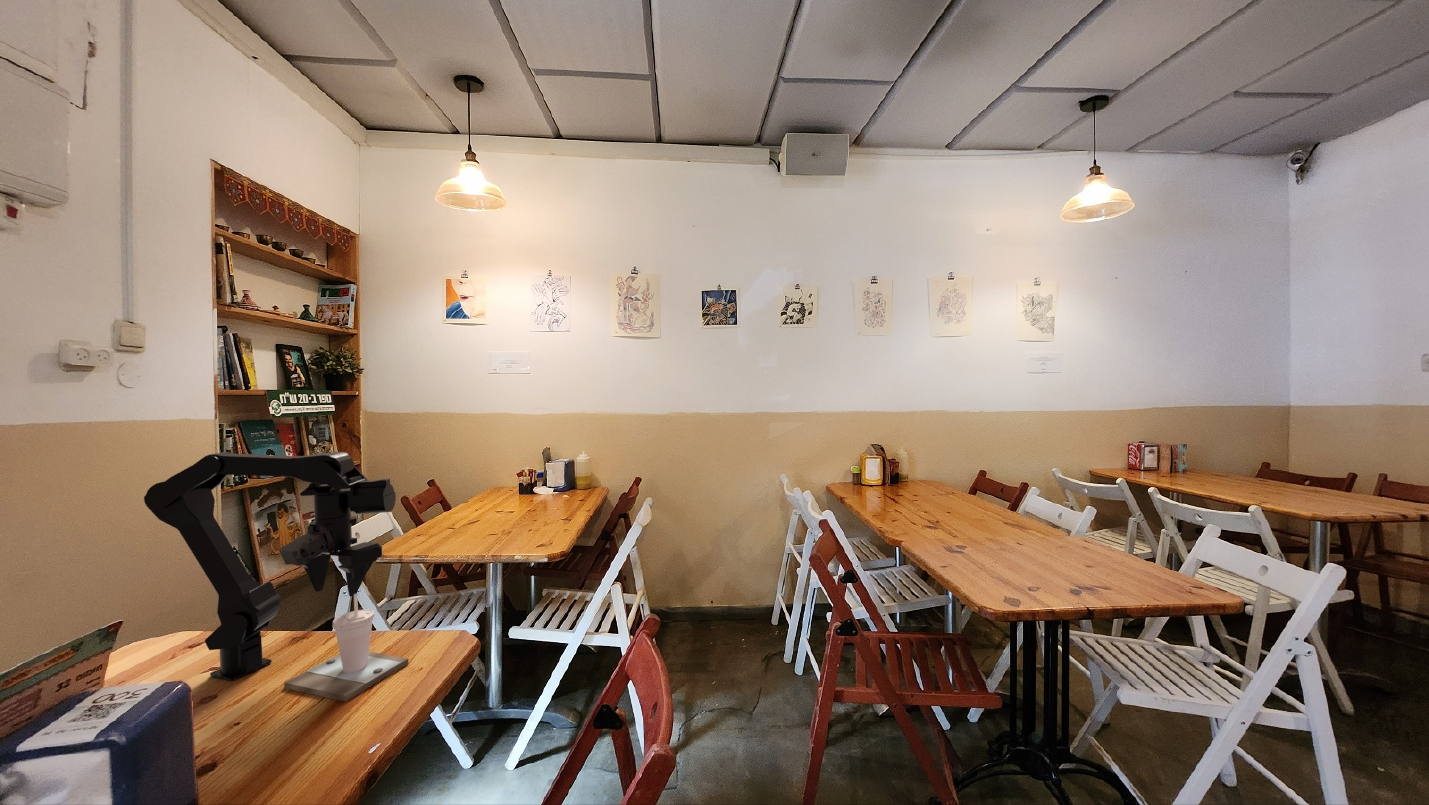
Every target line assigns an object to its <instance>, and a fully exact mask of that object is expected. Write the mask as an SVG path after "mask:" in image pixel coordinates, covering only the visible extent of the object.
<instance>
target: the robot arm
mask: <svg viewBox="0 0 1429 805" xmlns="http://www.w3.org/2000/svg"><path fill="white" fill-rule="evenodd" d="M228 476H253V477H255V476H258V477H259V476H260V477H286V478H293V479H295V480H299V481H301V482H304V483H309V484H308V486H307V487H306V488H305V489H304V490H302V491H301V492H300V493H299V495H300V496H301V497H309V496H313V504H314V505H313V506H314V507H313V509H314V510H313V511H314V512H313V515H314V522H312V523H309V524H308V526H307V533H305V534H303V535H301V536H298V537H297V538H295V539H293V540H292V541H290V542H289V543H287V544H285V545H282V546H281V547H280V548H279V549H278V552H279V554H280V556H281V558H282V559H283V561H284V563H285V565H294V566H295V567H296V566H297V567H300V566H301V567H302V568H303V569H304V570H305V573H306V574H307V577H308V579H309V581H310V583H311V585H312V587H313V589H314V591H315V592H316V593H319V592H321V591H322V592H323V590H324V586H325V583H326V579H327V575H328V574H327V573H328V570H329V567H330V566H329V565H330V560H331V558H332V556H335V557H337V559H338V560H337V561H338V562H339V564H340V565H337V566H338V568H339V569H340V570H342V571H344V572H345V579H346V585H347V591H348V592H347V593H348V596H349V597H351V598H352V597H354V594H356V593H357V594H358V591H359V589H360V587H361V585H362V584H363V582H364V579H365V578H366V575H367V574H368V572H369V570H370V568H371V567H372V565H373V564H374V562H377V561H378V559H379V558H382V557H383V546H382V545H381V544H380V543H377V542H368V541H367V542H366V541H365V542H360V543H358V537H352V535H353V534H352V525H353V524H357V523H358V522H357V517H352V512H354V513H355V514H356V515H367V514H369V515H370V514H381V513H391V512H392V511H393V509H394V507H395V504H396V499H397V498H396V497H397V496H396V495H397V494H396V492H395V490H394V489H395V488H394V486H393V485H392V484H391V479H390V478H381V479H373V480H372V479H371V480H370V479H369V480H368V478H367V477H366V476H365V475H364V474H363V473H362V472H361V471H360V470H359V468H358V467H357V466H356V465H355V463H354V459H353V458H352V457H351V456H350V454H348V453H347V452H345V451H334V452H323V453H317V454H309V455H308V454H307V455H296V456H295V455H275V454H272V455H271V454H249V453H246V454H245V453H234V452H230V451H229V452H228V451H227V452H226V451H225V452H218V453H211V454H207V455H204V457H202V458H201V459H199V460H198V461H196V462H195V463H193V465H192V464H191V466H189V467H187V468H185V469H183V470H181V471H179V472H178V473H176V474H173V475H172V476H170V477H169V478H167V479H166V480H164V481H161V482H157V483H155V484H153V485H151V486H150V488H148V490H147V491H146V494H145V495H144V496H143V501H144V505H145V506H146V507H147V509H149V511H150V512H151V513H152V514H153V515H154V516H155V518H157V519H158V520H159V521H161V522H163V524H164V523H165V524H167V525H169V526H170V527H172V528H175V529H176V530H177V531H178V532H179V533H180V536H181V537H182V538H183V540H184V542H185V544H186V545H187V547H188V548H189V550H190V552H191V553H192V555H193V556H194V558H195V560H196V561H197V563H198V565H199V567H200V568H201V569H202V571H203V573H204V575H205V576H206V578H207V579H208V580H209V582H210V584H211V585H212V587H213V588H214V590H215V592H216V593H217V596H218V597H217V598H218V600H217V609H216V610H217V611H216V613H217V617H218V619H219V623H220V625H219V626H217V627H216V629H215V630H213V632H211V634H209V635H208V637H206V638H204V643H205V645H206V646H207V649H208V651H216V650H217V651H218V650H219V668H218V669H216V670H213V671H212V672H210V673H209V676H210V677H214V678H218V679H222V680H226V681H231V682H232V681H235V680H236V679H239V678H242V677H244V676H246V675H248V674H250V673H252V672H255V671H256V670H259V669H261V668H263V667H265V666H267V665H269V664H271V663H272V659H269V658H265V657H263V644H262V642H263V641H262V640H263V639H262V634H261V633H262V631H263V630H264V629H266V628H268V627H270V625H271V622H272V620H273V619H274V618H275V617H276V616H277V615H278V612H279V610H280V608H281V603H280V600H279V599H281V597H282V596H281V595H280V594H278V593H277V591H276V590H275V587H274V585H273V583H272V582H271V581H270V580H267V581H266V582H263V583H260V582H258V581H256V580H254V579H253V578H252V577H251V576H250V575H249V572H248V571H247V570H246V567H245V566H244V564H243V563H242V561H241V559H240V557H239V556H238V554H237V553H236V551H235V549H234V548H233V546H232V545H231V542H230V541H229V539H228V537H227V536H226V534H225V533H224V531H223V529H222V528H221V526H220V525H219V523H218V521H217V520H216V518H215V516H214V512H215V503H216V501H215V500H216V499H215V497H214V494H213V492H212V491H213V490H215V489H216V488H217V487H218V486H220V485H221V484H223V482H224V480H225V479H226V478H227V477H228ZM357 543H358V544H357ZM354 544H355V545H354Z"/></svg>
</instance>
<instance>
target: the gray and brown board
mask: <svg viewBox="0 0 1429 805" xmlns="http://www.w3.org/2000/svg"><path fill="white" fill-rule="evenodd" d="M407 665H409V658H407V657H403V656H402V657H401V656H396V655H390V654H384V653H378V652H373V651H369V656H368V664H367V666H366V667H365V668H363V669H361V670H359V671H356V672H352V673H345V672H343V667H342V662H341V657H340V653H337V655H334V656H333V657H331V658H329V659H326V660H325V661H322V662H321V663H319V664H317V665H315V666H312V667H311V668H309V669H307V670H305V671H304V672H302V673H300V674H297V675H296V676H294V677H292V678H290V679H288V680H287V681H284V682H283V686H284V689H286V690H292V691H296V692H300V693H301V692H302V693H305V694H309V695H314V694H315V695H314V696H318V695H319V697H324V698H328V699H332V700H337V701H341V702H348V701H350V700H351V699H353V698H354V697H356V696H358V695H359V694H360V693H362V692H364V691H366V690H367V688H368V687H369V686H371V687H373V686H374V685H376V684H377V683H379V682H380V681H379V680H381V679H382V680H384V679H385V678H384V677H386V678H387V677H389V676H391V675H392V674H394V673H396V672H397V671H399V670H401V669H402V668H403V667H405V666H407ZM398 669H399V670H398ZM396 670H397V671H396ZM395 671H396V672H395ZM393 672H394V673H393ZM390 674H391V675H390ZM383 678H384V679H383ZM382 680H381V681H382ZM378 681H379V682H378ZM375 683H376V684H375ZM373 684H374V685H373ZM369 688H370V687H369ZM369 688H368V689H369ZM365 689H366V690H365ZM357 694H358V695H357Z"/></svg>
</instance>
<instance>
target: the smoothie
mask: <svg viewBox="0 0 1429 805" xmlns="http://www.w3.org/2000/svg"><path fill="white" fill-rule="evenodd" d="M358 601H359V598H358V592H357V593H356V594H354V596H353V609H354V610H352V611H348V612H346V613H343V614H341V615H338V616H337V617H335V618H334V619H333V621H332V625H331V626H332V629H334V631H335V636H336V641H337V646H338V649H339V650H338V651H339V654H340V657H341V662H342V667H343V672H345V673H352V672H356V671H359V670H361V669H363V668H365V667H366V666H367V664H368V656H369V652H370V644H371V637H372V636H371V635H372V629H373V628H372V626H373V620H374V619H375V611H374V610H372V609H368V608H367V609H366V608H365V609H359V606H358V604H359V602H358Z"/></svg>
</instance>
